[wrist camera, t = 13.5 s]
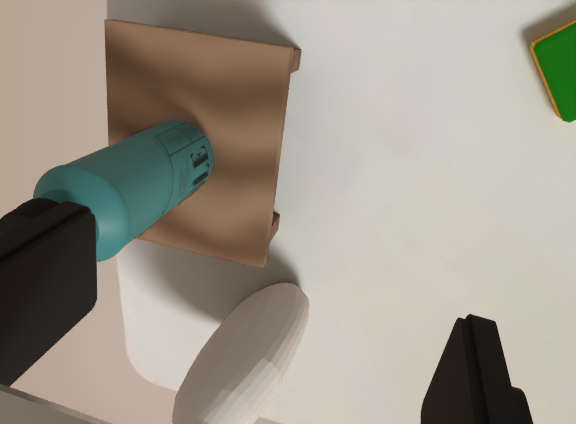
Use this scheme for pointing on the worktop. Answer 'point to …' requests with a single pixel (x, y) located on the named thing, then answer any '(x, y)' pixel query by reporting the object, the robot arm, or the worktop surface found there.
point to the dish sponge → (558, 68)
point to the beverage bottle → (125, 183)
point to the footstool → (207, 128)
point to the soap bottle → (244, 359)
